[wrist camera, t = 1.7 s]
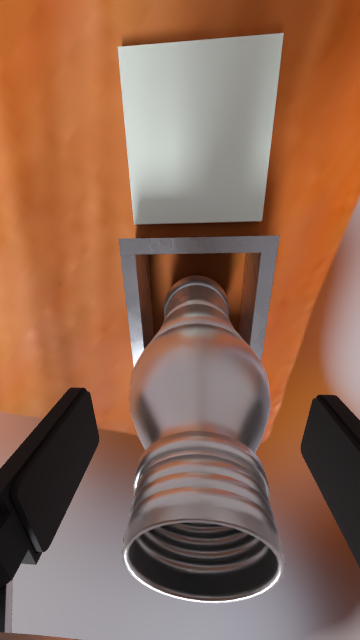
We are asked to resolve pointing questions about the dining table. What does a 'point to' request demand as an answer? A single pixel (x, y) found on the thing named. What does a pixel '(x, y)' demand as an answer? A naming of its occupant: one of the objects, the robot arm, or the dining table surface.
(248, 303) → the steel collar
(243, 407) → the plastic bottle
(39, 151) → the dining table surface
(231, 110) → the mat
